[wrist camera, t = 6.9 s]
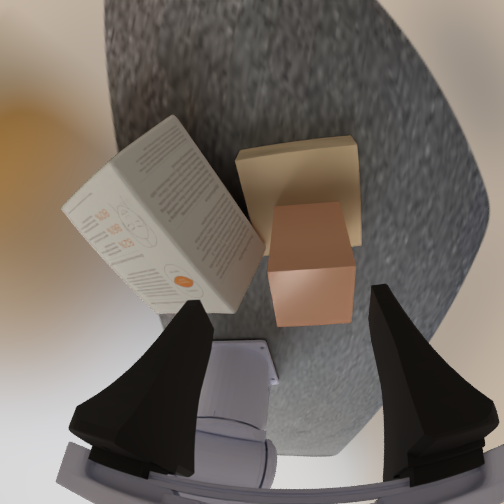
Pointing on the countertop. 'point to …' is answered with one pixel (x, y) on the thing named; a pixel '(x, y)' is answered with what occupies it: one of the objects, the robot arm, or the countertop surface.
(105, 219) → the small box
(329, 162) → the base slab
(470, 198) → the countertop surface
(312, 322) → the block
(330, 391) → the countertop surface
